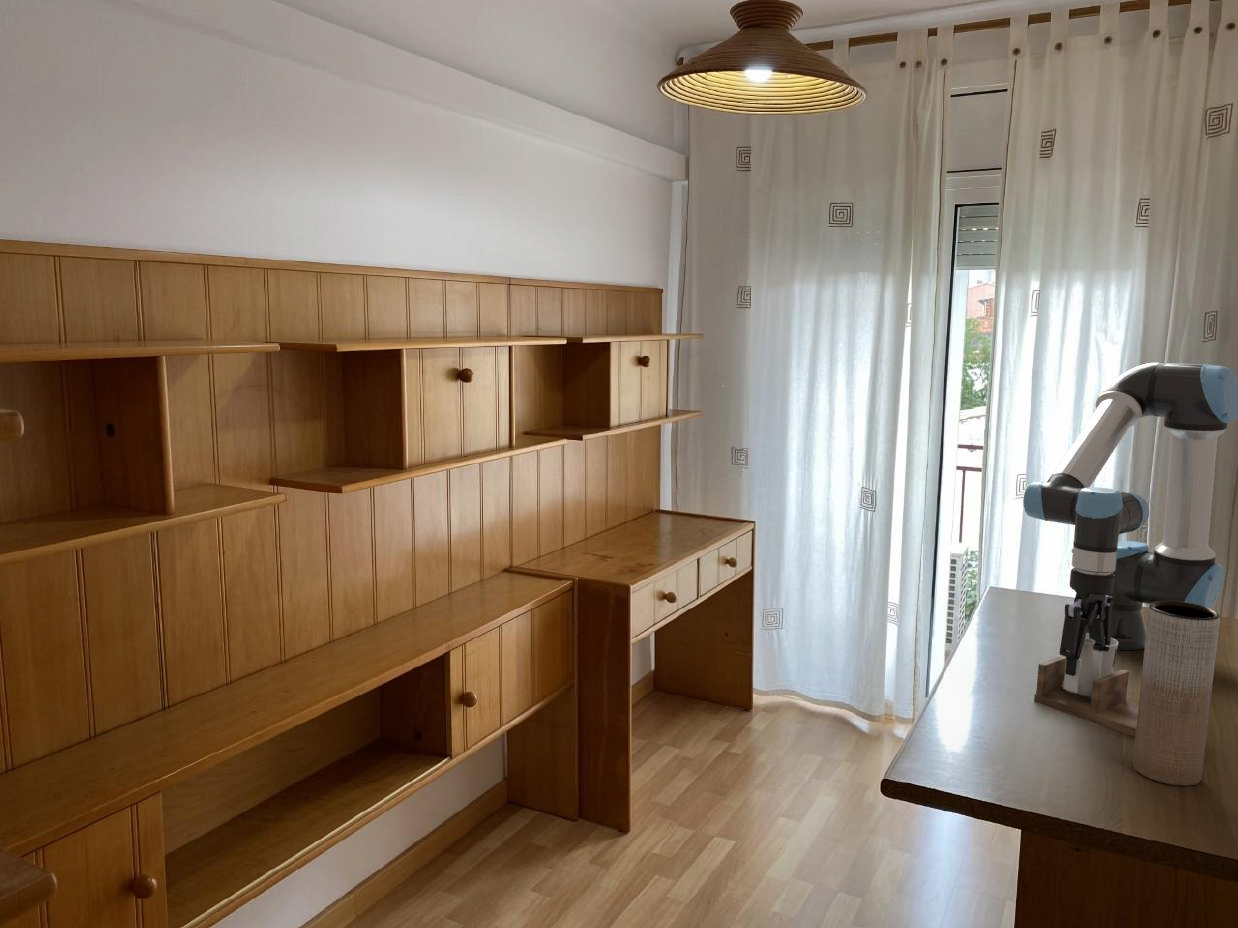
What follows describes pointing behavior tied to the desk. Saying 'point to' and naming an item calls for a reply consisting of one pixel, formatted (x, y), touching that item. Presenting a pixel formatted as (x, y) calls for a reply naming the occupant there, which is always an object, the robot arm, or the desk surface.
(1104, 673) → the cup
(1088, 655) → the flask
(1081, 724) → the desk surface
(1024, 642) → the desk surface
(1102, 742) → the desk surface
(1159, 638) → the vase
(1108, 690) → the rack
